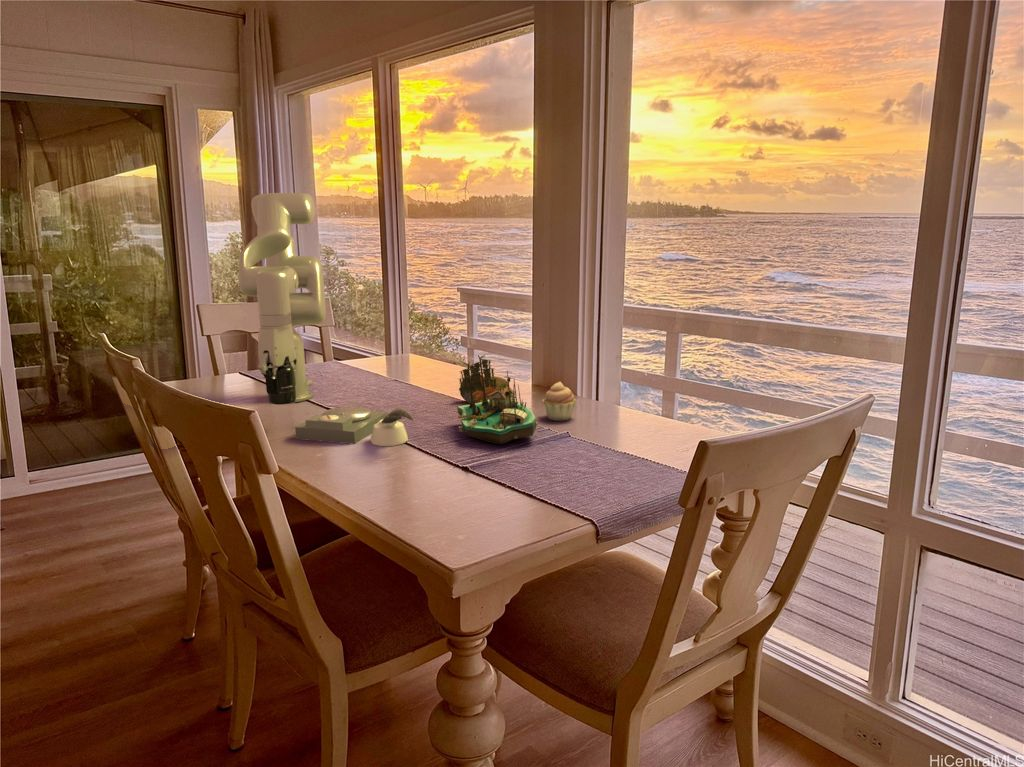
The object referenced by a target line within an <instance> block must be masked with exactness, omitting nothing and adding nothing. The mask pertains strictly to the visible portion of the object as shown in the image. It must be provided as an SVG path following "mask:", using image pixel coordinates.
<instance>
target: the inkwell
mask: <svg viewBox="0 0 1024 767" xmlns="http://www.w3.org/2000/svg"><path fill="white" fill-rule="evenodd" d="M403 418H407V419H409V420H411V421H414V419H413V417H412V415H411V413H410V412H409V411H408V410H406V408H402V407H397V408H395V409H393V410H391V411H390V412H389V413H388V414H387V416H385V417H384V419H382V420H380V421H379V423H377V424H375V425H374V427H373V431H372V433H371V434H370V441H369V442H370V443H371V444H372V445H374V446H376V447H377V446H378V447H380V446H381V447H394V446H400V445H403V444H405V443H407V442H408V440H409V436H408V433H407V429H406V427H405V424H404V423H403V422H401V421H399V420H402V419H403ZM406 441H407V442H406Z"/></svg>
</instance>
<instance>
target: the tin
mask: <svg viewBox="0 0 1024 767" xmlns="http://www.w3.org/2000/svg"><path fill="white" fill-rule="evenodd" d="M483 378H485V376H484V375H483ZM487 378H488V377H487ZM491 378H493V377H492V375H491ZM494 378H495V379H496V389H494V383H493V388H492V387H490V385H489V387H488V388H487V387H486V385H485V382H484V386H485V393H486V395H488V394H490V393H492V392H494V391H496V390H500V386H501V389H503V388H505V387H504V386H505V384H506V385H507V386H508V383H507V382H506V380H507V379H506V378H504V377H502V376H497V375H496V376H495V375H494ZM470 379H471V375H470ZM505 379H506V380H505ZM484 380H485V379H484ZM491 380H494V379H491ZM503 380H504V382H503ZM470 381H471V380H470ZM481 381H482V378H481ZM462 382H463V381H462ZM467 382H468V381H467ZM472 382H473V381H472ZM481 383H482V382H481ZM489 383H490V382H489ZM459 385H460V384H459ZM468 386H469V385H468ZM507 386H506V387H507ZM462 387H464V386H463V383H462ZM469 387H470V386H469ZM459 388H461V385H460V386H459ZM461 389H462V388H461ZM465 389H466V388H465ZM465 392H466V390H465ZM486 397H487V396H486ZM462 398H463V400H464V401H465V402H466V403H468V404H470V399H471V396H470V393H469V395H468V393H466V394H464V395H463V397H462ZM473 399H474V402H475V404H476V403H480V402H483V391H481V390H480V392H479V391H478V389H477V390H476V391H475V392H474V391H473ZM487 400H489V397H487Z"/></svg>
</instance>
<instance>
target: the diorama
mask: <svg viewBox="0 0 1024 767" xmlns="http://www.w3.org/2000/svg"><path fill="white" fill-rule="evenodd" d="M477 357H478V360H479V361H478V362H475V363H472V364H470V361H468V363H467V362H463V363H462V364H463V365H466V366H467V368H464V369H462V370H460V371H459V373H460V375H461V377H460V378H459V385H461V388H462V389H461V388H460V387H459V388H458V391H459V394H460V397H461V398H463V395H464V394H466V393H468V395H469V393H470V396H471V399H470V403H469V404H464V405H459V406H456V409H457V414H458V416H457V418H458V419H461V425H459V426H458V430H459V432H460V433H466V435H467V436H469V437H472V438H475V439H478V440H482V441H484V442H488V443H491V442H492V444H498V445H504V444H507V443H509V442H511V441H512V440H519V439H525V438H528V437H532V436H533V435H534V434H535V431H536V429H537V426H538V423H539V422H538V421H537V419H536V416H535V414H534V413H533V411H532V410H531V408H529V407H527V401H525V403H524V401H523V399H524V398H522V399H521V393H520V392H521V391H518V398H517V390H520V386H519V385H517V388H518V389H517V390H516V382H515V379H513V388H511V386H510V382H511V379H512V377H510V376H509V373H508V371H506V376H504V379H505V380H506V382H507V383H508V386H507V385H506V384H505V386H504V387H505V388H503V389H501V386H500V390H496V391H494V392H492V393H490V394H488V395H486V393H485V386H484V382H485V385H486V387H487V388H488V387H489V385H490V387H492V388H493V383H494V389H496V379H495V378H494V376H495V373H494V370H495V368H494V367H493V368H492V365H491V362H492V360H490V359H484V358H483V357H486V355H485V354H484V355H481V357H480V355H479V354H478V355H477ZM470 376H471V379H470ZM483 376H485V378H483ZM491 376H492V377H493V378H491ZM487 377H488V378H487ZM481 378H482V381H481ZM484 379H485V380H484ZM491 379H494V380H491ZM470 380H471V381H470ZM462 381H463V382H462ZM467 381H468V382H467ZM472 381H473V382H472ZM481 382H482V383H481ZM489 382H490V383H489ZM503 382H504V380H503ZM462 383H463V386H464V387H462ZM468 385H469V386H470V387H469V386H468ZM506 386H507V387H506ZM465 388H466V389H465ZM477 389H478V391H479V392H480V390H481V391H483V402H480V403H476V404H475V402H474V399H473V391H474V392H475V391H476V390H477ZM465 390H466V392H465ZM486 396H487V397H489V400H487V397H486ZM518 399H519V401H518Z"/></svg>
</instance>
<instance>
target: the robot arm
mask: <svg viewBox="0 0 1024 767" xmlns="http://www.w3.org/2000/svg"><path fill="white" fill-rule="evenodd" d="M251 211H252V215H253V219H254V221H255V224H256V226H257V231H256V232H257V236H255V237H254V238H253V239H251V240H250V242H248V243H247V244H246V246H245V247H243V250H242V251H241V253H240V256H239V260H238V287H239V290H240V292H241V293H242V294H243V295H245V297H257V306H258V317H259V329H258V336H257V353H258V356H257V357H258V366H257V368H258V370H259V372H261V374H262V376H263V379H265V390H266V394H267V395H268V394H279V385H278V378H276V375H277V369H278V367H280V366H282V365H284V360H285V357H287V356H289V361H290V363H289V365H291V366H292V367H293V368H294V374H295V389H296V400H295V401H294V402H293V403H298V402H304V401H307V400H310V399H312V398H313V392H312V391H310V390H308V388H309V387H311V386H312V385H314V381H313V379H308V380H307V375H306V362H305V348H304V346H305V344H304V340H303V337H302V335H301V334H300V333H299V332H298V331H297V330H296V329H295V327H296V326H306V325H308V326H309V325H311V326H312V325H320V324H322V323H324V322H325V320H326V315H327V308H326V304H327V303H326V294H325V280H324V278H325V276H324V270H323V265H322V263H321V261H320V259H319V258H318V257H316V256H314V255H313V256H312V255H297V254H296V242H295V238H294V237H293V236H292V233H291V232H292V231H291V225H311V224H312V223H313V221H314V219H315V216H316V206H315V200H314V198H313V197H312V196H311V194H310V193H303V192H270V193H269V192H268V193H260V194H257V195H255V196H254V197H252V199H251ZM264 259H265V266H264V265H263V266H254V265H256V264H257V263H259V262H260V261H262V260H264ZM297 289H298V290H299V289H300V290H301V289H304V290H308V291H309V292H308V291H307V292H296V291H297ZM294 326H295V327H294ZM271 364H273V366H270V365H271ZM270 369H273V371H272V372H271V371H270Z"/></svg>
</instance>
